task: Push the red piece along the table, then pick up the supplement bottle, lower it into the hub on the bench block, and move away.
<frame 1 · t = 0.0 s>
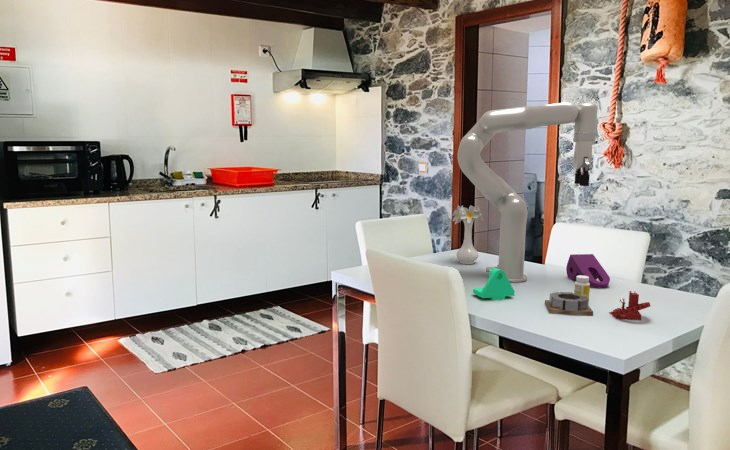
hand: (581, 184, 226), 37 cm above the table, tool pointing down, fingers open, 9 cm apart
mounting bracket: (589, 283, 231), on the table
bench block: (568, 309, 195), on the table
camera mount: (492, 297, 209), on the table
flower vase: (465, 263, 263), on the table
red piece: (627, 318, 187), on the table
hub: (568, 305, 194), resting on bench block
supplement bottle: (581, 301, 204), on the table
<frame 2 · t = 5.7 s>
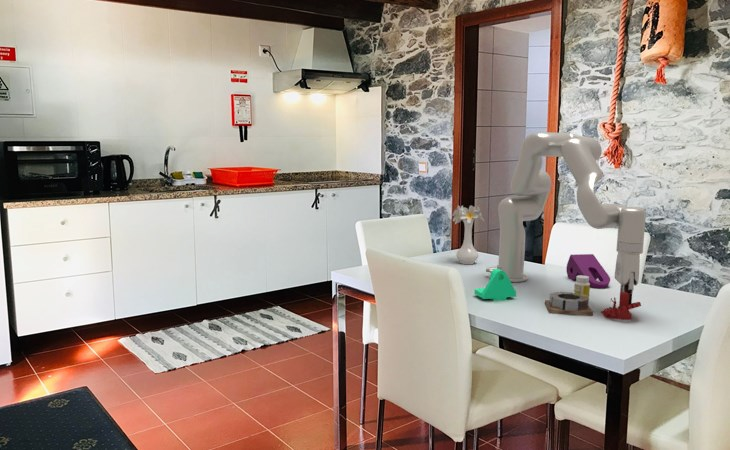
hand: (625, 304, 192), 3 cm above the table, tool pointing down, fingers closed
camera mount: (494, 298, 208), on the table
red piece: (618, 317, 188), on the table, touching gripper
everything else where it was.
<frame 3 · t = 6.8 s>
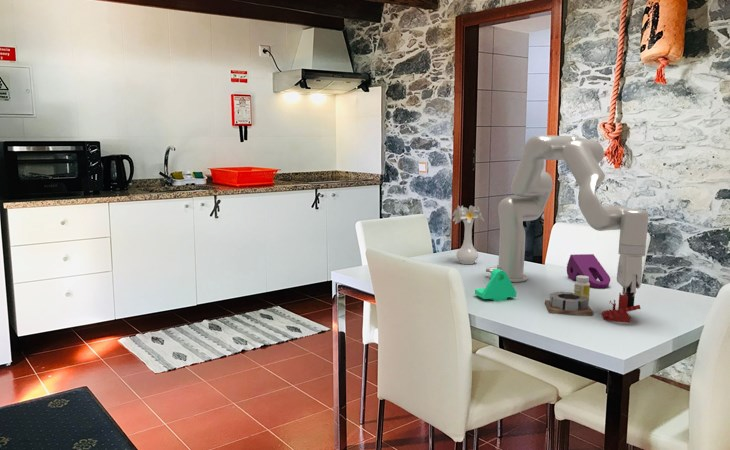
hand: (627, 308, 189), 2 cm above the table, tool pointing down, fingers closed
red piece: (617, 320, 185), on the table
everything else where it was.
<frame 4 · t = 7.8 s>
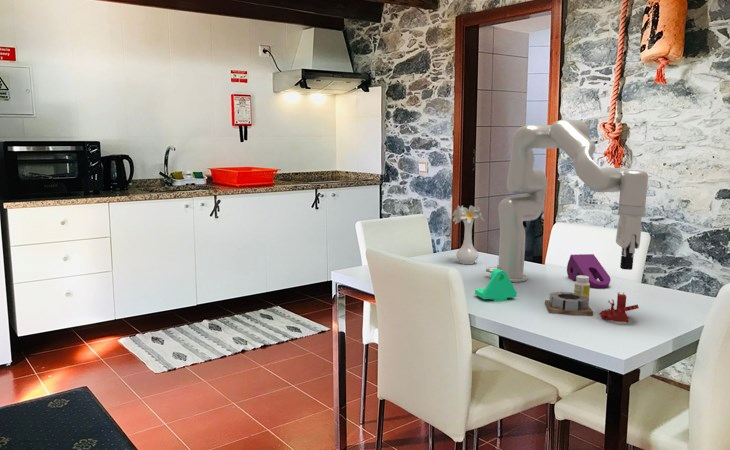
hand: (626, 268, 191), 14 cm above the table, tool pointing down, fingers closed
nothing on the table moved.
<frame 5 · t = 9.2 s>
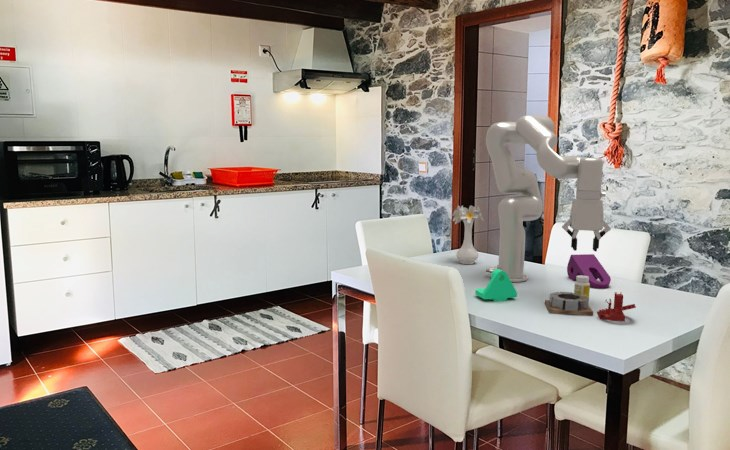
hand: (584, 249, 202), 18 cm above the table, tool pointing down, fingers open, 5 cm apart
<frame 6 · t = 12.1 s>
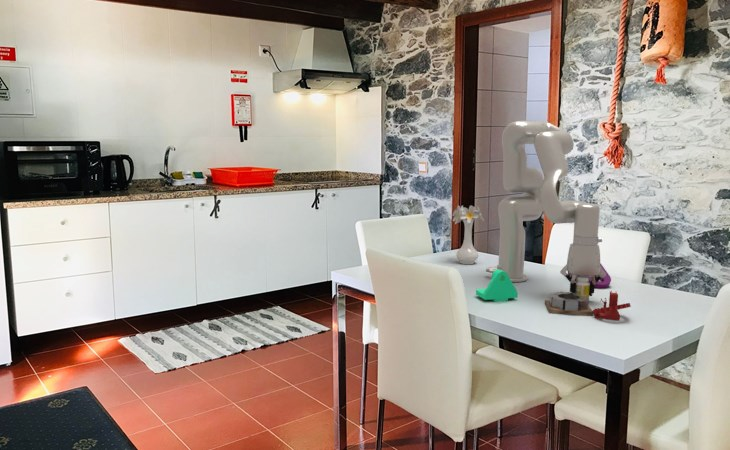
hand: (581, 294, 204), 2 cm above the table, tool pointing down, fingers closed on supplement bottle, 4 cm apart
red piece: (608, 317, 187), on the table
supplement bottle: (581, 301, 204), on the table, touching gripper
when the fingers open (5 cm above the table, at t = 16.2 s): supplement bottle drops 2 cm, resting on bench block.
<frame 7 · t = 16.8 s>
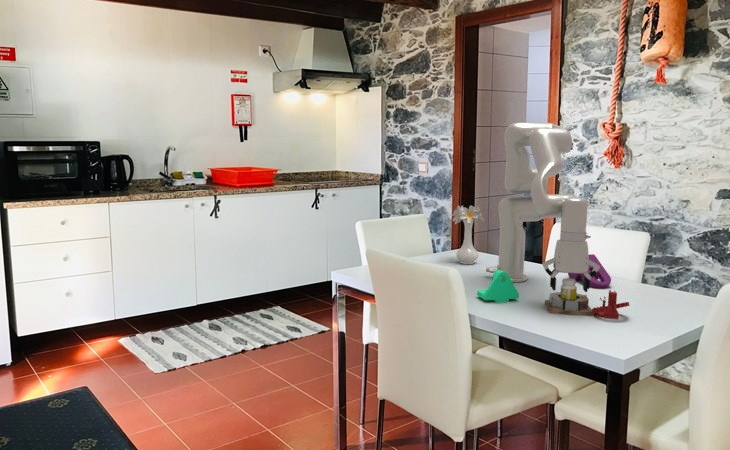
hand: (569, 290, 194), 6 cm above the table, tool pointing down, fingers open, 9 cm apart
red piece: (607, 316, 189), on the table, touching bench block
supplement bottle: (567, 306, 195), point 1 cm above the table, touching bench block
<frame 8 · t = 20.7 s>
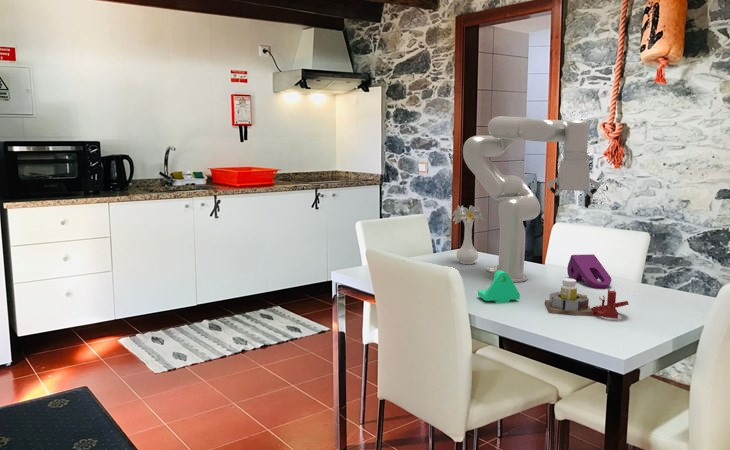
hand: (571, 207, 211), 30 cm above the table, tool pointing down, fingers open, 9 cm apart
red piece: (606, 315, 190), on the table
at the end: supplement bottle 0.2 cm off-centre on the hub, point 0.0 cm above the hub's base; supplement bottle tilted 0°; red piece touching table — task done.
